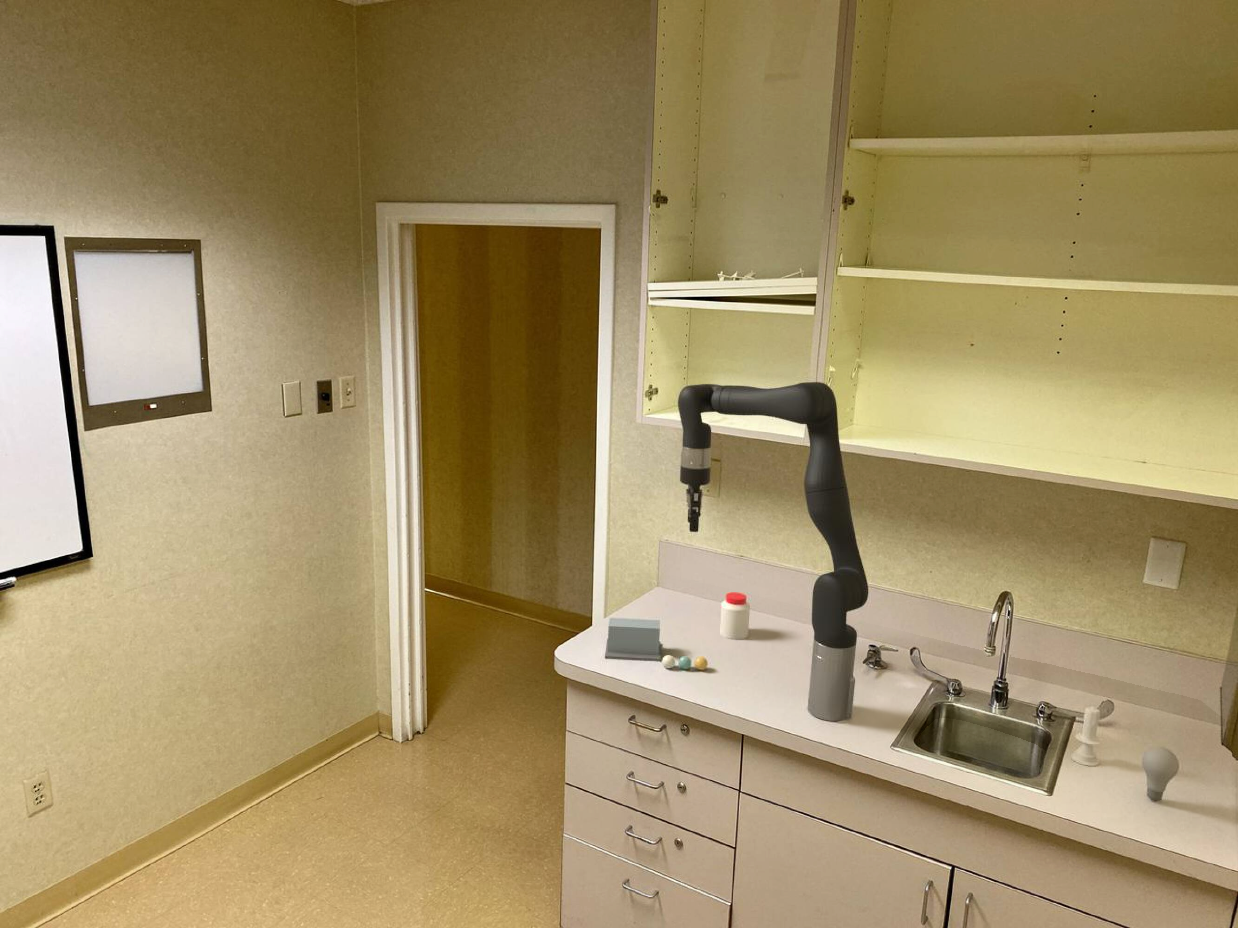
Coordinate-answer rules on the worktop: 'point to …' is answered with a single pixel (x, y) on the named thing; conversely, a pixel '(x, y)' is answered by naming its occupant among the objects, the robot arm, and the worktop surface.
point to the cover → (633, 636)
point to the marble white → (668, 661)
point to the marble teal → (684, 662)
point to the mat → (632, 655)
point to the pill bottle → (734, 616)
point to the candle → (1088, 738)
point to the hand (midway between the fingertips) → (692, 526)
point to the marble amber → (701, 663)
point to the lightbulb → (1159, 770)
